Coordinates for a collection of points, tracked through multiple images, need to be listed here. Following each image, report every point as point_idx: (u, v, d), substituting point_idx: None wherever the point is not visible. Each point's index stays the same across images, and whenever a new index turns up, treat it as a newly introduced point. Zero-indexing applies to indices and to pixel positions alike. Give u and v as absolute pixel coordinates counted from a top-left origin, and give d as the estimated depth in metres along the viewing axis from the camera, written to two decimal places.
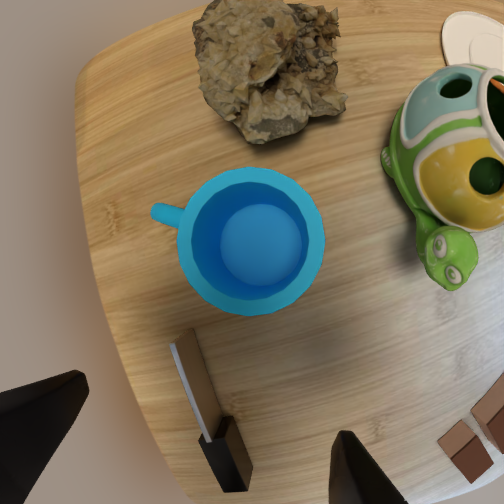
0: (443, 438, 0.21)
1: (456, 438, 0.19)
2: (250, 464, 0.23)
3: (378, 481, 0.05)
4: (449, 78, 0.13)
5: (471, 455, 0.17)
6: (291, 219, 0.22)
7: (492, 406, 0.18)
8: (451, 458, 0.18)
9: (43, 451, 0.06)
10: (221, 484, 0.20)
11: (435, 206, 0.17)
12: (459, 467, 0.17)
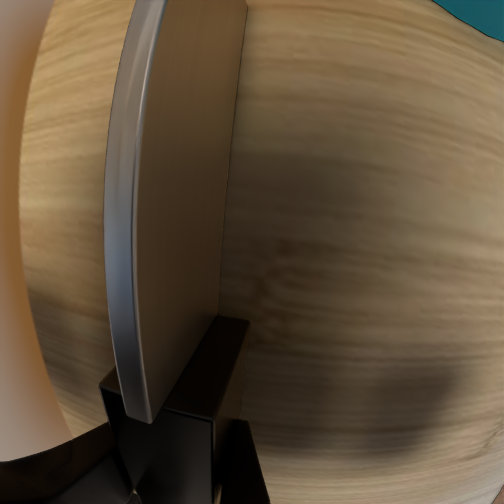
0: None
1: None
2: None
3: (248, 475, 0.05)
4: None
5: None
6: None
7: None
8: None
9: (123, 494, 0.05)
10: None
11: None
12: None
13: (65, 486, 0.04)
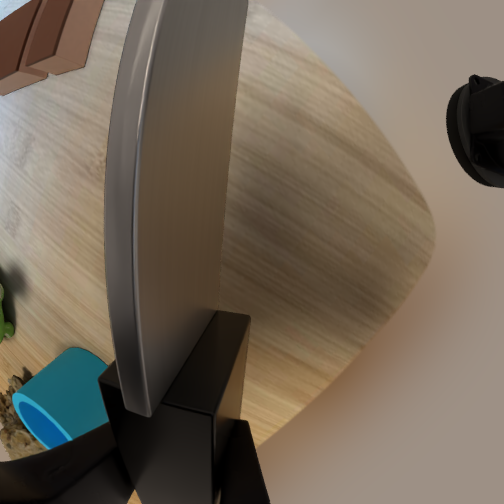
0: (75, 67, 0.16)
1: (55, 66, 0.15)
2: None
3: (248, 475, 0.05)
4: None
5: (43, 36, 0.12)
6: None
7: (17, 78, 0.15)
8: (52, 55, 0.13)
9: (123, 494, 0.05)
10: None
11: None
12: (58, 27, 0.12)
13: (65, 486, 0.04)
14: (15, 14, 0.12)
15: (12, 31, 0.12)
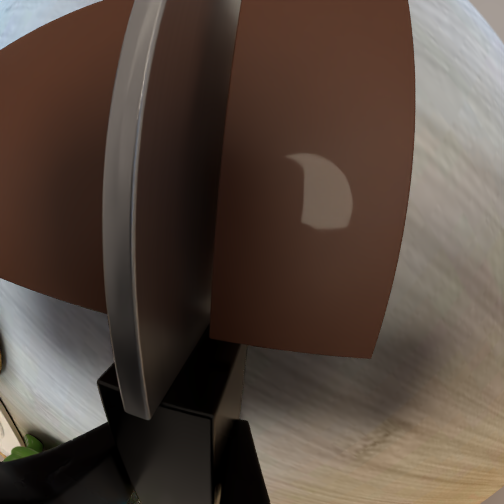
0: None
1: None
2: None
3: (248, 475, 0.05)
4: None
5: (300, 248, 0.05)
6: None
7: None
8: None
9: (123, 495, 0.05)
10: None
11: None
12: (392, 248, 0.05)
13: (65, 486, 0.04)
14: (52, 37, 0.05)
15: (54, 108, 0.05)
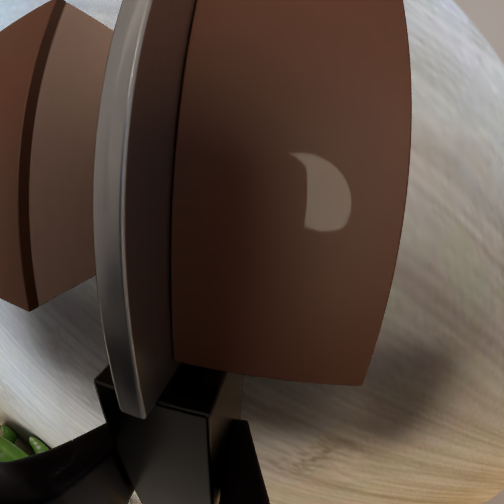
0: None
1: None
2: None
3: (248, 475, 0.05)
4: None
5: (271, 259, 0.04)
6: None
7: None
8: None
9: (124, 495, 0.05)
10: None
11: None
12: (387, 257, 0.04)
13: (65, 486, 0.04)
14: None
15: None
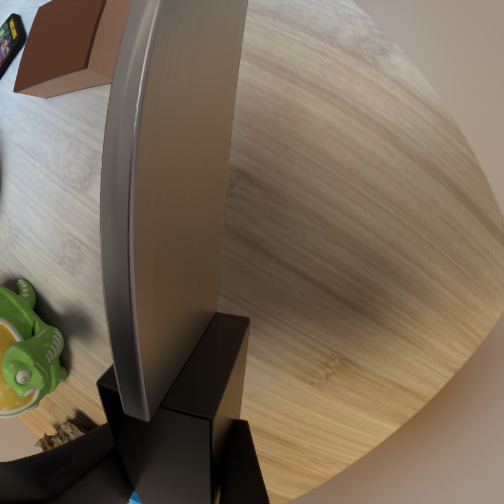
0: None
1: None
2: None
3: (247, 475, 0.05)
4: None
5: None
6: None
7: (78, 78, 0.14)
8: None
9: (124, 495, 0.05)
10: None
11: None
12: None
13: (65, 486, 0.04)
14: None
15: (69, 16, 0.12)
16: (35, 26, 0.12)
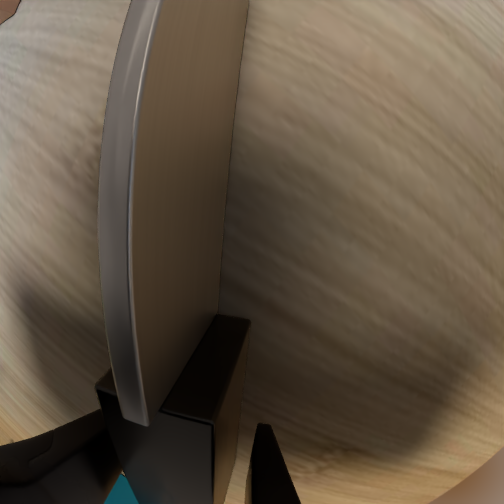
0: None
1: None
2: (233, 460, 0.09)
3: (277, 479, 0.05)
4: None
5: None
6: None
7: None
8: None
9: (104, 486, 0.06)
10: None
11: None
12: None
13: (43, 472, 0.04)
14: None
15: None
16: None
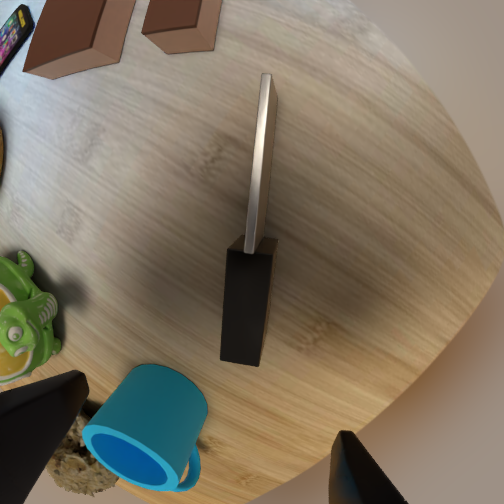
0: (201, 49, 0.16)
1: (179, 42, 0.15)
2: (266, 328, 0.20)
3: (378, 481, 0.05)
4: None
5: (170, 2, 0.12)
6: None
7: (83, 58, 0.15)
8: (193, 26, 0.13)
9: (43, 451, 0.06)
10: (224, 343, 0.17)
11: None
12: None
13: None
14: None
15: (76, 4, 0.12)
16: (44, 13, 0.13)
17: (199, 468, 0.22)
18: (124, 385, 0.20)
